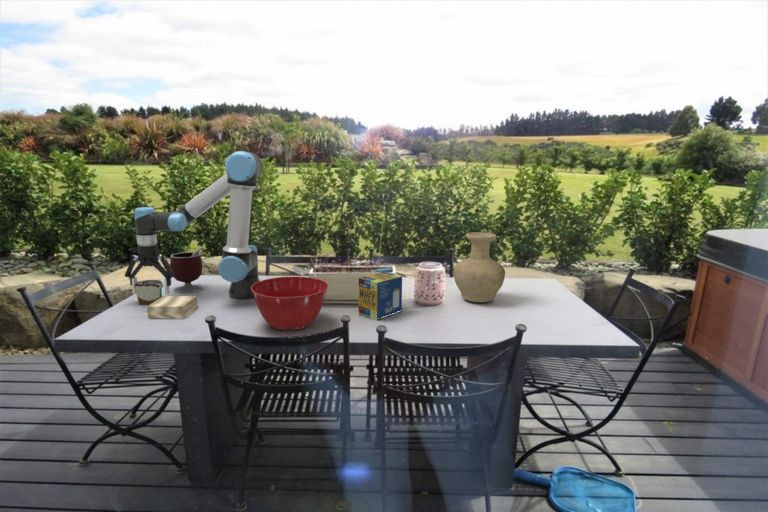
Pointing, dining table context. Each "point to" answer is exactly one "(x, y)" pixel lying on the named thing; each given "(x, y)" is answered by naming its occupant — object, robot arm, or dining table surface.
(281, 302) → the mixing bowl
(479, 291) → the vase
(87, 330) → the dining table surface
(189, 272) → the mate gourd
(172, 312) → the birch platform
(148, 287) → the food container
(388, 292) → the protein box
